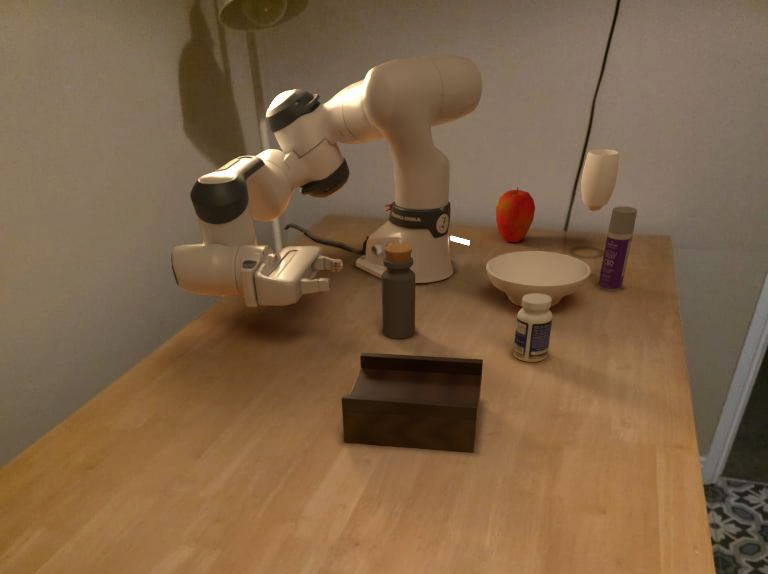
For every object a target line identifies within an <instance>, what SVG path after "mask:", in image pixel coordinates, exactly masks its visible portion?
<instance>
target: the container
mask: <svg viewBox="0 0 768 574" xmlns="http://www.w3.org/2000/svg"><path fill="white" fill-rule="evenodd" d="M637 213H638V209H637V208H634V207H632V206H615V207H613V208H612V212H611V215H610V222H609V225H608V226H609V227H608V231H607V234H606V240H605V247H604V250H603V256H602V263H601V266H600V267H601V268H600V273H599V277H598V284H597V288H598V289H599V290H601V291H605V292H617V291H620V290H622V287H623V284H624V278H625V274H626V269H627V263H628V259H629V255H630V249H631V245H632V240H633V235H634V229H635V225H636V220H637V219H636V218H637Z"/></svg>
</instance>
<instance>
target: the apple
mask: <svg viewBox="0 0 768 574" xmlns="http://www.w3.org/2000/svg"><path fill="white" fill-rule="evenodd" d="M535 212H536V204H535V200H534V198H533V197H532V196H531V193H529V192H528V191H525V190H521V189H519V187H517V188H516V189H510V190H508V191H506V192H504V193H503V194H502V195H501V196H500V197H499V199H498V201H497V204H496V206H495V221H496V226H497V230H498V234H499V236H500V237H502V238H503V239H504V241H506V242H509V243H519V242H520V241H522V240H523V238H525V237H526V235H527V233H528V232H529V230H530V227H531V225H532V224H533V222H534V217H535Z"/></svg>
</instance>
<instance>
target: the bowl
mask: <svg viewBox="0 0 768 574" xmlns="http://www.w3.org/2000/svg"><path fill="white" fill-rule="evenodd" d="M485 266H486V267H485V269H486V274H487V277H488V278H489V280H490V282H491V284H492V285H493V286H494V287H495V288H496V289H498V290H499V291H501V292H504V293H505V294H506V296H507V298H508V300H509V301H510V302H511V303H512V304H514V305H516V306H519V307H522V305H521V304H522V298H523V296H525V295H527V294H533V293H540V294H545V295H548V296H550V297H551V298H552V302H551V307H553V306H556V305H557V304H558V303H559V302H560V301H561V300H562V299H563V298H564V297H565V296H569V295H571V294H574V293H576V292H577V291H579V290H580V289H581V288H582V287H583V286H584V285H585V283H586V282H587V281H588V279H589V277H590V275H591V271H592V270H591V268H590V266H589V265H588V264H587V263H586V262H585V261H583V260H581V259H580V258H576V257H575V256H571V255H568V254H563V253H559V252H552V251H543V250H521V251H514V252H513V251H512V252H507V253H502V254H499V255H497V256H495V257H492V258H490V259H489V260H488V261H487V262H486V264H485Z"/></svg>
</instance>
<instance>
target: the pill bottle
mask: <svg viewBox="0 0 768 574" xmlns="http://www.w3.org/2000/svg"><path fill="white" fill-rule="evenodd" d="M551 302H552V298H551V297H550V296H548V295H545V294H540V293H533V294H527V295H525V296H523V298H522V304H521V305H522V306H521V307H522V308H520V309H519V310H518V312H517V313H516V314H517V315H516V322H515V331H514V340H513V341H514V342H513V356H514V357H515V358H516V359H517V360H520V361H522V362H528V363H536V362H537V363H538V362H541V361H544V360H545V359H546V358H547V357H548V354H549V348H550V339H551V333H552V324H553V313H552V311H551V310H550V309H551V307H552V306H551Z"/></svg>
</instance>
